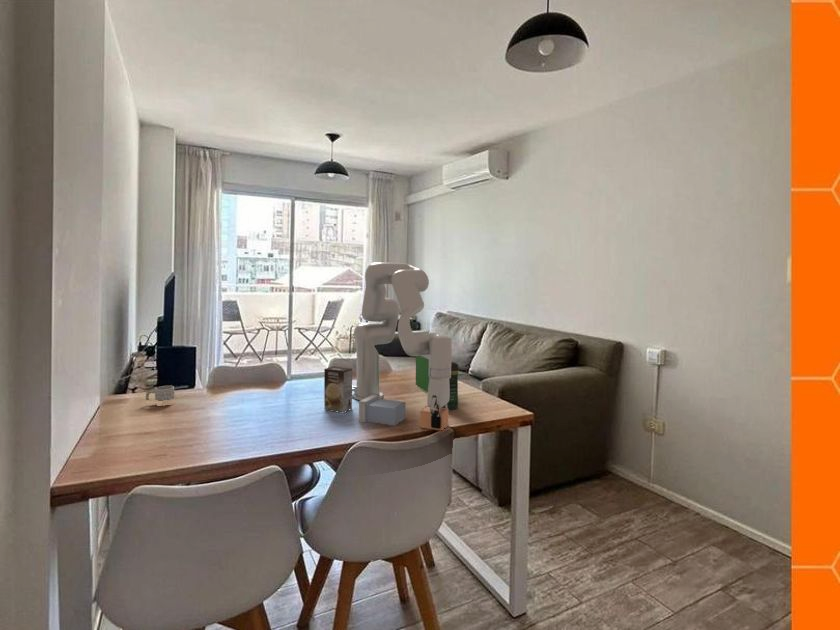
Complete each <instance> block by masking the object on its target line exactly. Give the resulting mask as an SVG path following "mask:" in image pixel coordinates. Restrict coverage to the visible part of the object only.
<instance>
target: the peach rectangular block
mask: <svg viewBox="0 0 840 630" xmlns="http://www.w3.org/2000/svg"><path fill="white" fill-rule="evenodd" d="M435 410H437V412H438V409H435ZM419 412H420V413H419V416H420V417H419V421H420V422H419V427H420V428H421V429H428V430H435V431H441V430H442V429H444V428H445V429H446V428H447V427H448V426H449V410H448V408H441V410H440V417H441V428H440V429H438V428H432V427H431V411H430V407H428V406H427V405H426V406H425V407H423V408H422V409H420V411H419ZM445 429H444V430H445Z"/></svg>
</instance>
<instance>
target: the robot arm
mask: <svg viewBox="0 0 840 630" xmlns="http://www.w3.org/2000/svg"><path fill="white" fill-rule="evenodd" d="M364 278H365V279H364V280H365V289H364V294H363V295H364V296H363V300H362V306H361V317H362V319H363V320H365V321H367V322H362V323H359V324H357V326H355V328H354V330H353V337H354V342H355V351H356V353H355V354H356V385H352V392H354V393H352V399H354V400H356V399H357V400H356V401H361V400H363V399H365V398H367V397H369V396H371V395H373V394H377V395H379V399H383V397H384V394H383V392H381V391H380V354H379V351H378V350H377V349H376V347H375V346H377V345H385V344H386V345H387V344H390V343H392V342H393V340H394V339H395V335H396V332H397V335H398V340H399V341H400V344H401V347H402V349H403V351H404V353H405V354H406V355H407V356H409V357H416V356H420V355H429V378H430V379H429V386H428V392H427V402H426V403H427V405H426V406H428V407H430V411H431V427H432V428H438V429H440V428H441V417H440V410H441V408H448V407H447V404H448V402H449V397H450V384H449V378H451V361H452V339H451V337H449V336H447V335H441V334H438V333H435V332H425V333H413V329H412V328H411V317H414V316H415V315H417V314H419V313H420V312H422V310H423V309H424V307H425V303H424V300H423V298H422V296H421V293H423V292H425V291H427V290H428V288H429V284H430V282H429V281H430V279H429V277H428V275H427V273H426V271H424V270H422V269H421V268H419V267H417V266H415V265H411V264H409V263H406V262H405V263H404V262H389V261H388V262H382V261H381V262H378V261H377V262H372V263H369V265H368V266H367V267H366V270H365V275H364ZM386 285H392V288H393V291H394V294H395V296H396V299H397V300H396V299H394V298H391V297H387V286H386ZM400 310H401V313H400ZM396 330H397V331H396ZM436 405H438V407H437V406H436ZM435 409H438V412H437V410H435Z"/></svg>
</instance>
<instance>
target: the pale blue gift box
mask: <svg viewBox="0 0 840 630" xmlns="http://www.w3.org/2000/svg"><path fill="white" fill-rule="evenodd" d="M406 404H407V403H406V401H399V400H395V399H394V400H392V399H383V398H381V399H379V395H377V394H373V395H371V396H369V397H367V398H365V399H363V400H358V422H359V421H360V423H366V421H367V423H372V422H373V424H379V423H380V424H381V425H386V424H387V425H388V426H393V425H394V427H395V426H396V425H398V424H399V422H400V423H401V422H403V421H404V420H405V419H406V411H407V410H406V409H407V408H406ZM403 419H404V420H403ZM387 425H386V426H387Z"/></svg>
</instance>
